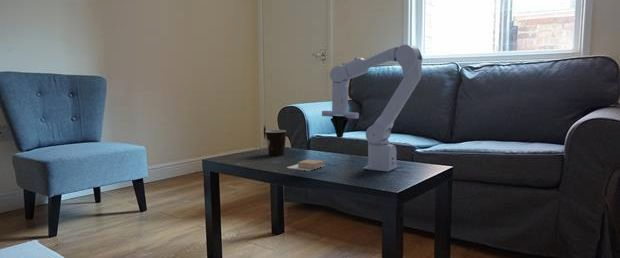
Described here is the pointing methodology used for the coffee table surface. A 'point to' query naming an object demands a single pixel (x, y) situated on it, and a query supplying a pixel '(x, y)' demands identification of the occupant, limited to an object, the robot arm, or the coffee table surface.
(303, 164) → the tile
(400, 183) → the coffee table surface
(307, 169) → the felt mat
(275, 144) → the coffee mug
